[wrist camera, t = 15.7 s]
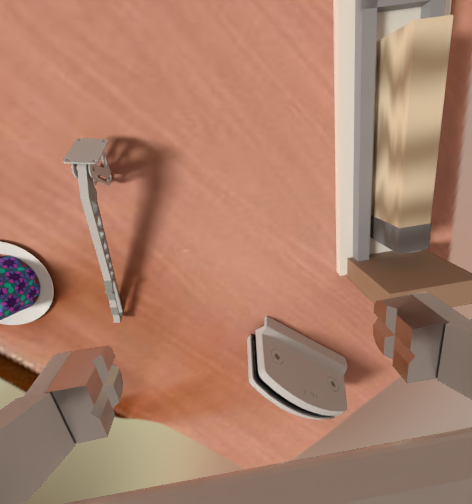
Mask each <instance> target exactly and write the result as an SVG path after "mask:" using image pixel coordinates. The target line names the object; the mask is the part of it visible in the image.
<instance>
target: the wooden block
mask: <svg viewBox="0 0 472 504" xmlns="http://www.w3.org/2000/svg"><path fill="white" fill-rule="evenodd" d="M453 15H454V14H453ZM453 15H446V16H439V17H431V18H424V19H417V20H413V21H412V22H410V23H408V24H407V25H405V26H403V27H401V28H400V29H398V30H396V31H394V32H393V33H391V34H389V35H388V36H386V37H384V38H382V39H381V40H379V41H377V64H376V94H375V123H374V152H373V181H372V211H371V229H370V237H371V238H372V239H374V240H376V241H377V242H379V243H381V244H382V245H384V246H386V247H387V248H389V249H391V250H393V251H394V252H396V253H398V254H400V253H406V252H412V251H418V250H424V249H429V240H430V231H431V223H430V221H431V212H432V203H433V194H434V185H435V176H436V167H437V158H438V149H439V140H440V131H441V122H442V113H443V104H444V95H445V86H446V77H447V68H448V60H449V51H450V42H451V33H452V24H453Z"/></svg>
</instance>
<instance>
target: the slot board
mask: <svg viewBox="0 0 472 504" xmlns="http://www.w3.org/2000/svg"><path fill="white" fill-rule="evenodd" d="M333 2H334V88H335V173H336V258H337V273H338V274H339V275H340V276H341V275H347V278H348V279H349V280H350V281H351V282H352V283H353V284H354V285H355V286H356V287H357V288H358V289H359V290H360V291H361V292H362V293H363V294H364V295H365V296H366V297H367V298H368V299H369V300H370V301H371V302H372V303H373V304H374V305H375V302H376V301H378V300H383V299H389V298H394V297H400V296H405V295H408V294H413V293H418V292H423V291H425V292H429V293H431V294H432V295H434V296H435V297H437V298H438V299H440V300H441V301H443V302H444V303H445V304H447V305H448V306H450V307H456V306H462V305H468V304H472V273H470V272H468V271H466V270H464V269H462V268H460V267H458V266H456V265H454V264H452V263H450V262H448V261H446V260H444V259H442V258H440V257H438V256H437V255H435V254H433V253H431V252H429V251H427V250H425V249H424V250H418V251H412V252H406V253H400V254H398V253H396V252H394V251H393V250H391V249H389V248H387V247H386V246H384V245H382V244H381V243H379V242H377V241H376V240H374V239H372V238H371V237H370V229H371V211H372V181H373V152H374V123H375V94H376V64H377V41H379V40H381V39H382V38H384V37H386V36H388V35H389V34H391V33H393V32H394V31H396V30H398V29H400V28H401V27H403V26H405V25H407V24H408V23H410V22H412V21H413V20H417V19H424V18H431V17H439V16H446V15H450V11H451V2H452V0H333Z"/></svg>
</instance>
